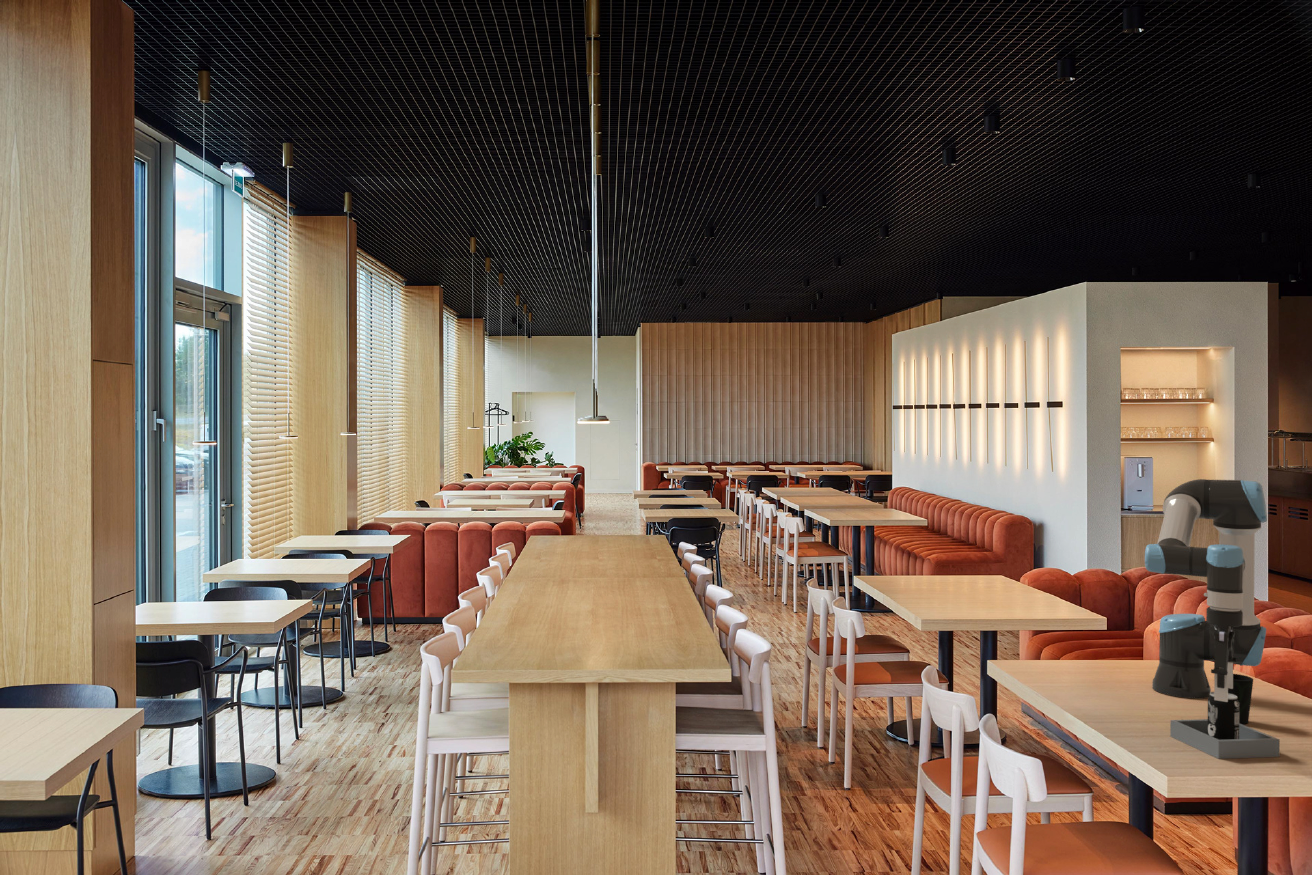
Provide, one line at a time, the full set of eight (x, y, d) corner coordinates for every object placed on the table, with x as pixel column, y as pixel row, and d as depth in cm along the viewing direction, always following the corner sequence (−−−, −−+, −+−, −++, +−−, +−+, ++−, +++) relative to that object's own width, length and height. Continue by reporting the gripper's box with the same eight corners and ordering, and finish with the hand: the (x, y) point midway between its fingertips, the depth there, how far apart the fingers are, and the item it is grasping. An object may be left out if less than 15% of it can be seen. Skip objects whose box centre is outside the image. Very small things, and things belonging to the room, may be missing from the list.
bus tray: (1227, 734, 225) (1227, 718, 225) (1279, 756, 209) (1279, 739, 209) (1170, 736, 223) (1170, 720, 223) (1218, 758, 207) (1218, 741, 207)
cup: (1242, 727, 231) (1242, 681, 231) (1212, 719, 238) (1213, 674, 238) (1259, 723, 235) (1259, 678, 235) (1229, 715, 242) (1229, 671, 242)
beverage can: (1201, 739, 219) (1201, 691, 219) (1225, 739, 220) (1226, 691, 220) (1220, 748, 213) (1220, 698, 213) (1245, 748, 213) (1246, 698, 213)
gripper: (1212, 598, 229) (1211, 679, 229) (1200, 614, 209) (1199, 703, 209) (1246, 602, 224) (1245, 685, 224) (1238, 618, 204) (1237, 709, 205)
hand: (1223, 694), depth 217 cm, fingers open, 13 cm apart
